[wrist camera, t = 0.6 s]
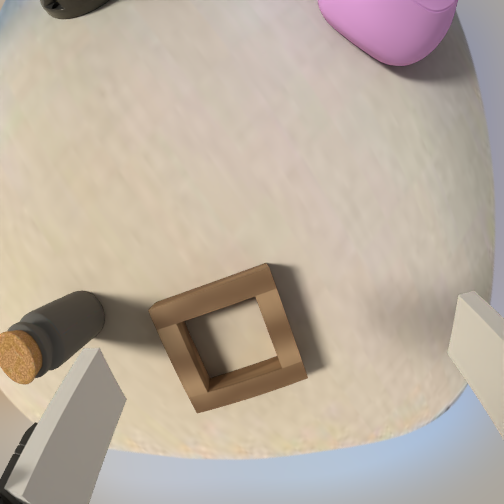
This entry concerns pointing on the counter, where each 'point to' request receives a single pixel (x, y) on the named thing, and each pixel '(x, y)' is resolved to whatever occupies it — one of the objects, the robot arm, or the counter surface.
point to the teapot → (391, 26)
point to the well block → (242, 380)
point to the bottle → (50, 336)
